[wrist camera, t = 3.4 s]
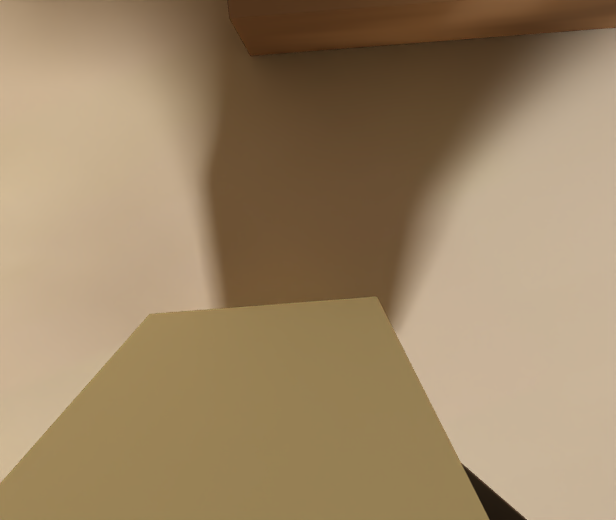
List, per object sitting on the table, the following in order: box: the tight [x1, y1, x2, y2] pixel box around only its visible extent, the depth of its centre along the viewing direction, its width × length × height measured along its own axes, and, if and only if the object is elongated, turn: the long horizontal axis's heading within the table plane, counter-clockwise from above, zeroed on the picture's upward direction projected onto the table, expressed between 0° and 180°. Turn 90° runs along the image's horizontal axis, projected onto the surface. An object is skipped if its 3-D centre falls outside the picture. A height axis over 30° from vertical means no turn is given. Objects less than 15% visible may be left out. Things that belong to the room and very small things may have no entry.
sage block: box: [0, 296, 489, 520], centre depth 7 cm, size 5×5×6 cm
